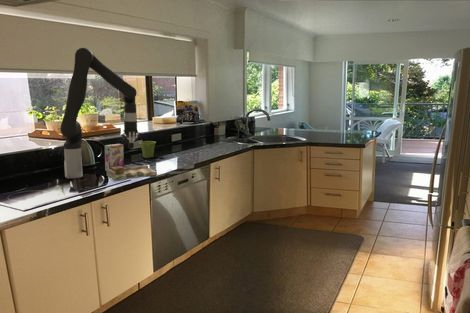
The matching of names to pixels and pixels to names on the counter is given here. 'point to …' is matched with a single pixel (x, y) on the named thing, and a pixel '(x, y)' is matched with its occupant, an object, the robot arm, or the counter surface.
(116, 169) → the walnut block
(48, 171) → the counter surface
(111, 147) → the candy bar box
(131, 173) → the box
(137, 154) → the counter surface
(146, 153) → the plant pot
